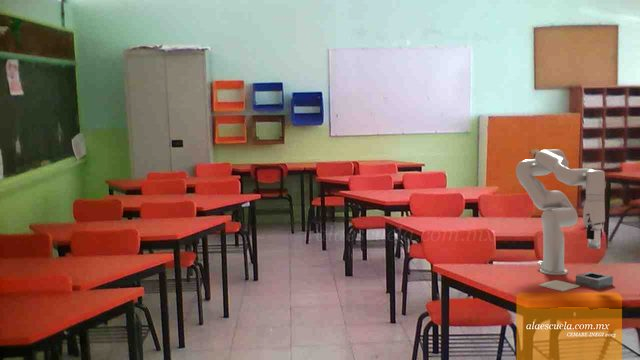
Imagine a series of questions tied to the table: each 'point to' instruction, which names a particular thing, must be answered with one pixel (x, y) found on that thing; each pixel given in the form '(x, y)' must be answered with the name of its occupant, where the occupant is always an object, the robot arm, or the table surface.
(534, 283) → the table surface
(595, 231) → the end cover
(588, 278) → the bore housing
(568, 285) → the sage mat
